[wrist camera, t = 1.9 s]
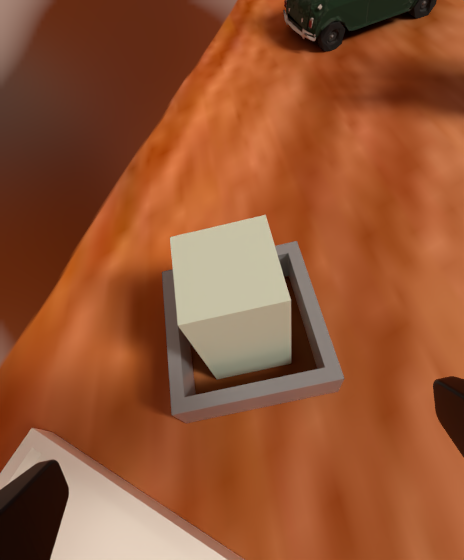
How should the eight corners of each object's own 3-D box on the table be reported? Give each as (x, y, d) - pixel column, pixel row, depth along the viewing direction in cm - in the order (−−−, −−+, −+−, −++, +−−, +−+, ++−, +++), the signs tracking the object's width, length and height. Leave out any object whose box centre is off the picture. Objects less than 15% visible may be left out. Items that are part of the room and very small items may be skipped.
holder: (337, 391, 21) (344, 378, 18) (186, 423, 21) (171, 415, 19) (296, 264, 26) (296, 241, 23) (174, 292, 26) (161, 271, 24)
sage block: (291, 363, 22) (290, 300, 14) (216, 379, 22) (177, 325, 15) (273, 297, 25) (265, 214, 17) (207, 312, 25) (169, 237, 17)
